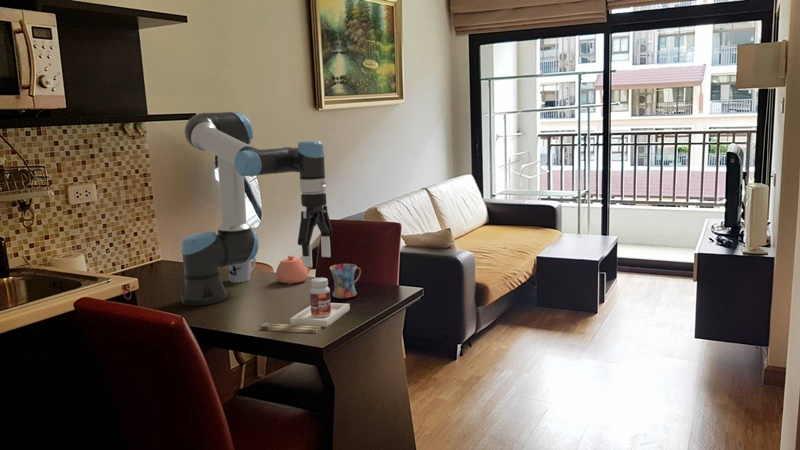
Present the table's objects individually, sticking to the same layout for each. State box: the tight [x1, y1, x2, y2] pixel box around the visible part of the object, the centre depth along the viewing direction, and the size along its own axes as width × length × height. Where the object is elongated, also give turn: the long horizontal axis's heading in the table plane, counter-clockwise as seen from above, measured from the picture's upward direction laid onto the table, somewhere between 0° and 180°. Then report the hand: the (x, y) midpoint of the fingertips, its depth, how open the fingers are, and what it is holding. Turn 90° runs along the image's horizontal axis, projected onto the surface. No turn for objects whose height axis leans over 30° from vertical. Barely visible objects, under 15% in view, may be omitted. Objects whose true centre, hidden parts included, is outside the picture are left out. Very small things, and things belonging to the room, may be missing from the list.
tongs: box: [259, 322, 322, 334], centre depth 190 cm, size 18×3×1 cm, turn 73°
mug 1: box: [226, 256, 257, 284], centre depth 255 cm, size 10×15×10 cm
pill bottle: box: [309, 277, 332, 318], centre depth 200 cm, size 6×6×11 cm
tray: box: [289, 302, 351, 328], centre depth 201 cm, size 12×18×2 cm, turn 163°
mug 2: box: [329, 263, 362, 299], centre depth 224 cm, size 12×9×11 cm
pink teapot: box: [275, 255, 310, 286], centre depth 249 cm, size 12×14×10 cm
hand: (317, 261), depth 199 cm, fingers open, 13 cm apart
